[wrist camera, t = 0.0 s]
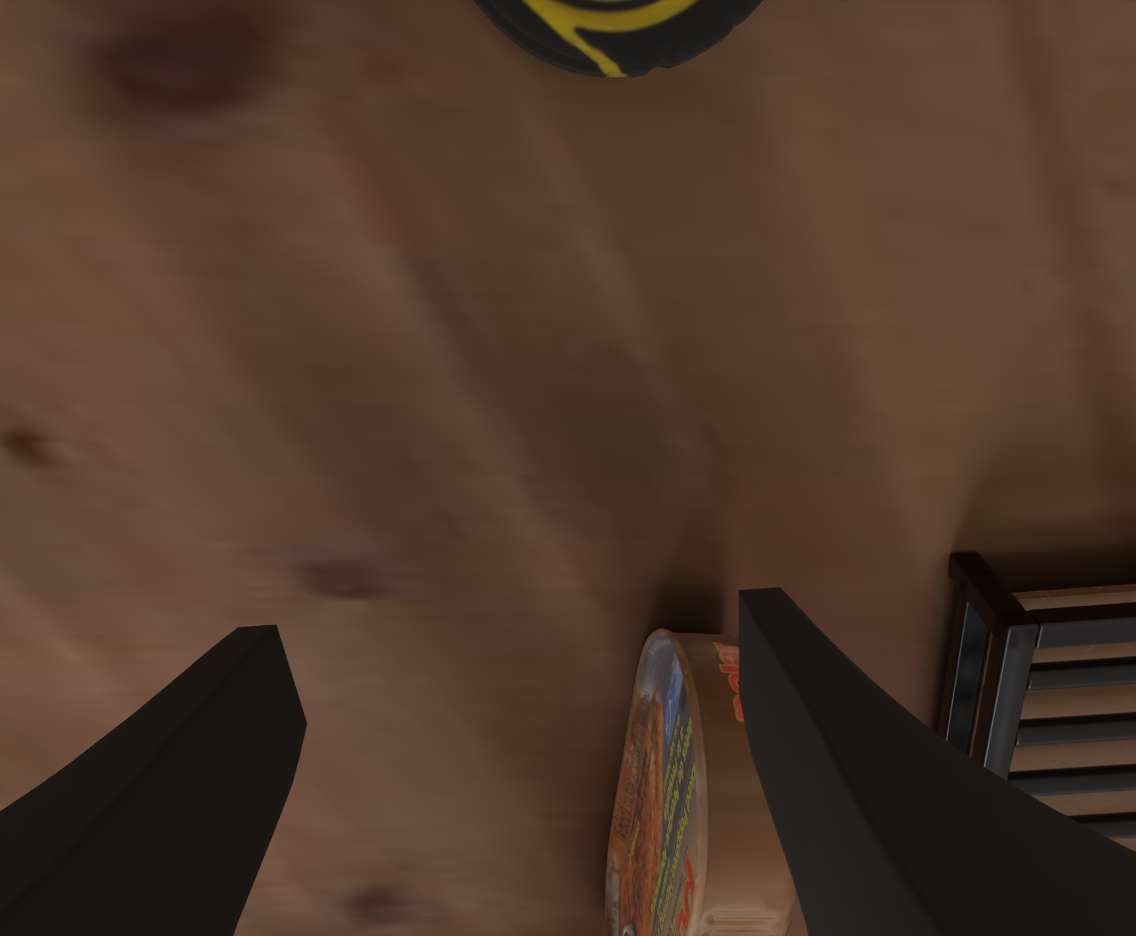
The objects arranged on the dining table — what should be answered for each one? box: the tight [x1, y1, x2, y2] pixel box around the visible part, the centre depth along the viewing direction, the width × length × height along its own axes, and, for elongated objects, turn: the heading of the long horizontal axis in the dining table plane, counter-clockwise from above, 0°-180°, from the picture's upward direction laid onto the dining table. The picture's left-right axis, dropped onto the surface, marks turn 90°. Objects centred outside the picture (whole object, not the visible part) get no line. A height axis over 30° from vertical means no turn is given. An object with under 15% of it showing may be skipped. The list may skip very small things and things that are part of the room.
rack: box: [937, 552, 1136, 852], centre depth 25 cm, size 16×10×4 cm, turn 6°
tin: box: [605, 628, 796, 936], centre depth 24 cm, size 15×3×8 cm, turn 175°
